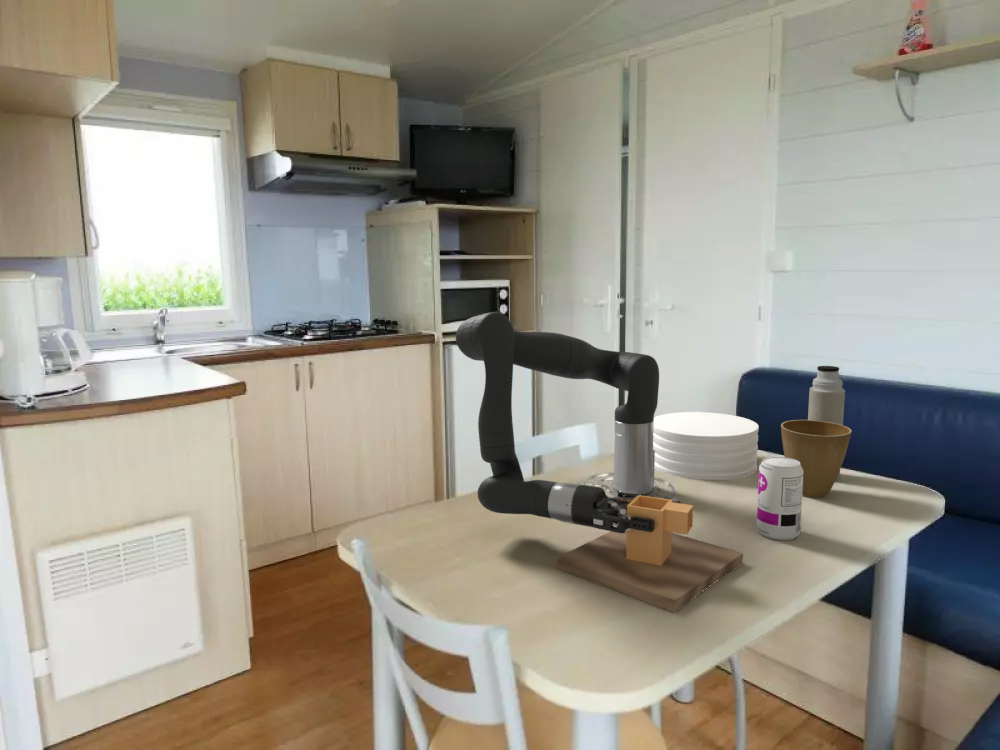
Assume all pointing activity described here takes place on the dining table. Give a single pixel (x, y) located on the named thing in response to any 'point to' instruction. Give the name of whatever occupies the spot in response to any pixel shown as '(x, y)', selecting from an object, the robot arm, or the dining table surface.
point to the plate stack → (705, 445)
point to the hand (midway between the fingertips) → (661, 517)
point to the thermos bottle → (827, 397)
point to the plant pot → (816, 452)
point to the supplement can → (779, 498)
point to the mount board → (652, 568)
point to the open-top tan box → (657, 528)
